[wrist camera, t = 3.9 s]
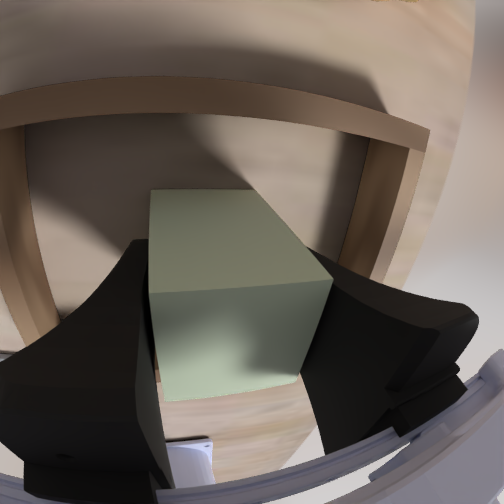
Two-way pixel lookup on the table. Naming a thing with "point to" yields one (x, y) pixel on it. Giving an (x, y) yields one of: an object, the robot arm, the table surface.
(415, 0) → the pastry
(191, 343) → the wood block
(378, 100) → the table surface
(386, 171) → the box
